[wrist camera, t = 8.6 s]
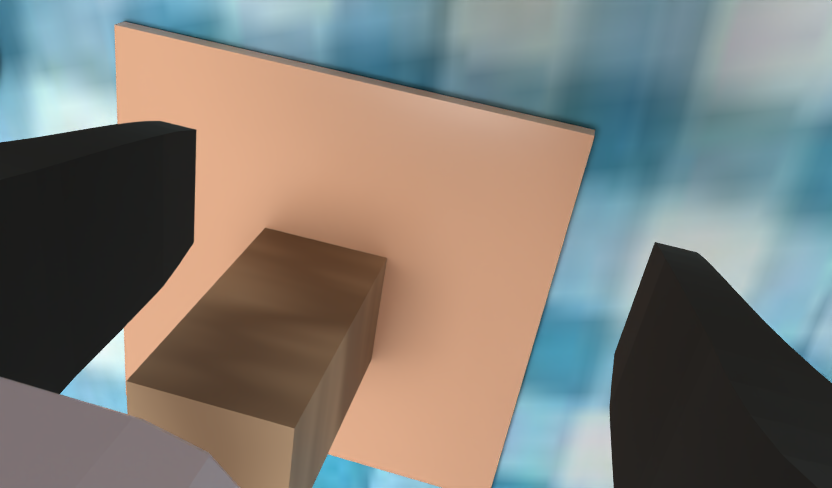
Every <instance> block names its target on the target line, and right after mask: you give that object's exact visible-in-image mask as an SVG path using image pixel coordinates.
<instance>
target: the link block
mask: <svg viewBox="0 0 832 488" xmlns="http://www.w3.org/2000/svg"><path fill="white" fill-rule="evenodd" d="M386 262H387V258H386V257H382V256H378V255H374V254H370V253H365V252H361V251H357V250H353V249H349V248H345V247H341V246H337V245H333V244H329V243H325V242H321V241H317V240H313V239H309V238H305V237H301V236H297V235H293V234H289V233H285V232H281V231H277V230H273V229H269V228H264V229H263V231H262V232H261V233H260V234H259V235H258V236H257V237H256V238H255V239H254V241H253V242H252V243H251V244H250V245H249V246H248V247H247V248H246V249H245V250H244V252H243V253H242V254H241V255H240V256H239V257H238V258H237V259H236V260H235V261H234V263H233V264H232V265H231V266H230V267H229V268H228V269H227V270H226V271H225V273H224V274H223V275H222V276H221V277H220V278H219V279H218V280H217V281H216V282H215V284H214V285H213V286H212V287H211V288H210V289H209V290H208V291H207V292H206V294H205V295H204V296H203V297H202V298H201V299H200V300H199V301H198V302H197V303H196V305H195V306H194V307H193V308H192V309H191V310H190V311H189V312H188V313H187V314H186V316H185V317H184V318H183V319H182V320H181V321H180V322H179V323H178V324H177V326H176V327H175V328H174V329H173V330H172V331H171V332H170V333H169V334H168V335H167V337H166V338H165V339H164V340H163V341H162V342H161V343H160V344H159V345H158V347H157V348H156V349H155V350H154V351H153V352H152V353H151V354H150V355H149V356H148V358H147V359H146V360H145V361H144V362H143V363H142V364H141V365H140V366H139V368H138V369H137V370H136V371H135V372H134V373H133V374H132V375H131V376H130V377H129V379H128V380H127V381H126V388H127V411H128V415H131V416H135V417H138V418H142V419H144V420H146V421H148V422H150V423H152V424H154V425H156V426H158V427H160V428H162V429H164V430H165V431H167V432H169V433H171V434H173V435H175V436H177V437H179V438H181V439H183V440H185V441H187V442H189V443H191V444H193V445H195V446H197V447H199V448H201V449H203V450H205V451H207V452H208V453H210V455H211V456H212V457H213V458H214V459H215V460H216V461H217V462H218V463H219V465H220V466H221V467H222V468H223V469H224V470H225V471H226V472H227V473H228V475H229V476H230V477H231V478H232V479H233V480H234V481H235V482H236V483H237V485H238V486H239V487H240V488H312V486H313V484H314V482H315V480H316V478H317V476H318V474H319V471H320V469H321V467H322V465H323V463H324V461H325V459H326V456H327V454H328V452H329V450H330V448H331V446H332V444H333V441H334V439H335V437H336V435H337V433H338V431H339V429H340V426H341V424H342V422H343V420H344V418H345V416H346V413H347V411H348V409H349V407H350V405H351V403H352V401H353V398H354V396H355V394H356V392H357V390H358V388H359V386H360V383H361V381H362V379H363V377H364V375H365V373H366V371H367V368H368V366H369V364H370V362H371V359H372V353H373V346H374V340H375V333H376V327H377V320H378V314H379V307H380V301H381V294H382V288H383V282H384V275H385V269H386Z"/></svg>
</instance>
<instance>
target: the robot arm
mask: <svg viewBox="0 0 832 488" xmlns="http://www.w3.org/2000/svg"><path fill="white" fill-rule="evenodd" d="M196 131H197V130H196V129H192V128H188V127H183V126H179V125H175V124H171V123H167V122H163V121H140V122H130V123H122V124H115V125H108V126H102V127H96V128H90V129H84V130H78V131H72V132H66V133H60V134H54V135H48V136H42V137H36V138H29V139H22V140H15V141H8V142H1V143H0V488H240V487H239V486H238V485H237V483H236V482H235V481H234V480H233V479H232V478H231V477H230V476H229V475H228V473H227V472H226V471H225V470H224V469H223V468H222V467H221V466H220V465H219V463H218V462H217V461H216V460H215V459H214V458H213V457H212V456H211V455H210V453H208V452H207V451H205V450H203V449H201V448H199V447H197V446H195V445H193V444H191V443H189V442H187V441H185V440H183V439H181V438H179V437H177V436H175V435H173V434H171V433H169V432H167V431H165V430H164V429H162V428H160V427H158V426H156V425H154V424H152V423H150V422H148V421H146V420H144V419H142V418H138V417H135V416H131V415H128V414H125V413H121V412H118V411H114V410H111V409H108V408H104V407H101V406H98V405H94V404H91V403H87V402H84V401H81V400H77V399H74V398H70V397H67V396H64V395H60V393H61V392H62V391H63V390H64V389H65V388H66V386H67V385H68V384H69V383H70V382H71V381H72V380H73V379H74V378H75V376H76V375H77V374H78V373H79V372H80V371H81V370H82V369H83V368H84V367H85V366H86V365H87V364H88V363H89V362H90V361H91V360H92V359H93V358H94V357H95V356H96V355H97V354H98V353H99V352H100V351H101V350H102V349H103V348H104V347H105V346H106V345H107V344H108V343H109V342H110V341H111V340H112V339H113V338H114V337H115V336H116V335H117V334H118V333H119V332H120V331H121V330H122V329H123V328H124V327H125V326H126V325H127V324H128V323H129V322H130V321H131V320H132V319H133V318H134V317H135V316H136V315H137V314H138V313H139V311H140V310H141V309H142V308H143V307H144V306H145V305H146V304H147V303H148V302H149V301H150V300H151V299H152V298H153V297H154V296H155V295H156V294H157V293H158V292H159V290H160V289H161V288H162V287H163V286H164V285H165V283H166V282H167V281H168V279H169V278H170V277H171V275H172V274H173V273H174V271H175V270H176V268H177V267H178V266H179V264H180V263H181V261H182V260H183V258H184V257H185V255H186V254H187V252H188V251H189V249H190V248H191V246H192V245H193V243H194V221H195V176H196ZM610 429H611V448H612V465H613V482H614V488H832V383H831V382H830V381H829V380H827V379H826V378H825V377H824V376H823V375H821V374H820V373H819V372H818V371H817V370H816V369H814V368H813V367H812V366H811V365H810V364H809V363H808V362H807V361H806V360H805V359H803V358H802V357H801V356H800V355H799V354H798V353H797V352H796V351H795V350H794V349H792V348H791V347H790V346H789V345H788V344H787V343H786V342H785V341H784V340H783V339H782V338H781V337H780V336H779V335H778V334H777V333H776V332H775V331H774V330H773V329H772V328H771V327H770V326H769V325H768V324H767V323H766V322H765V321H764V320H763V319H762V318H761V317H760V316H759V315H758V314H757V313H756V312H755V311H754V310H753V309H752V308H751V307H750V306H749V305H748V304H747V303H746V302H745V300H744V299H743V298H742V297H741V296H740V295H739V294H738V293H737V292H736V291H735V290H734V289H733V288H732V287H731V285H730V284H729V283H728V282H727V281H726V280H725V279H724V278H723V277H722V276H721V275H720V274H719V273H718V272H717V271H716V270H715V268H714V267H713V266H712V265H711V264H710V263H709V262H708V261H707V260H705V259H704V258H703V257H702V256H701V255H700V254H698V253H697V252H693V251H689V250H685V249H681V248H677V247H672V246H668V245H664V244H660V243H656V242H655V243H654V246H653V249H652V252H651V254H650V257H649V260H648V263H647V265H646V268H645V271H644V274H643V277H642V279H641V282H640V285H639V288H638V290H637V293H636V296H635V299H634V301H633V304H632V307H631V310H630V312H629V315H628V318H627V321H626V324H625V326H624V329H623V332H622V335H621V337H620V340H619V343H618V346H617V348H616V351H615V355H614V365H613V374H612V384H611V397H610Z"/></svg>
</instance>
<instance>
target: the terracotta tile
mask: <svg viewBox="0 0 832 488" xmlns="http://www.w3.org/2000/svg"><path fill="white" fill-rule="evenodd" d="M115 56H116V88H117V120H118V124H122V123H130V122H140V121H163V122H167V123H171V124H175V125H179V126H183V127H188V128H192V129H196V130H197V131H196V176H195V221H194V243H193V245H192V246H191V248H190V249H189V251H188V252H187V254H186V255H185V257H184V258H183V260H182V261H181V263H180V264H179V266H178V267H177V268H176V270H175V271H174V273H173V274H172V275H171V277H170V278H169V279H168V281H167V282H166V283H165V285H164V286H163V287H162V288H161V289H160V290H159V292H158V293H157V294H156V295H155V296H154V297H153V298H152V299H151V300H150V301H149V302H148V303H147V304H146V305H145V306H144V307H143V308H142V309H141V310H140V311H139V313H138V314H137V315H136V316H135V317H134V318H133V319H132V320H131V321H130V322H129V323H128V324H127V325H126V326H125V327H124V343H125V375H126V381H127V380H128V379H129V377H130V376H131V375H132V374H133V373H134V372H135V371H136V370H137V369H138V368H139V366H140V365H141V364H142V363H143V362H144V361H145V360H146V359H147V358H148V356H149V355H150V354H151V353H152V352H153V351H154V350H155V349H156V348H157V347H158V345H159V344H160V343H161V342H162V341H163V340H164V339H165V338H166V337H167V335H168V334H169V333H170V332H171V331H172V330H173V329H174V328H175V327H176V326H177V324H178V323H179V322H180V321H181V320H182V319H183V318H184V317H185V316H186V314H187V313H188V312H189V311H190V310H191V309H192V308H193V307H194V306H195V305H196V303H197V302H198V301H199V300H200V299H201V298H202V297H203V296H204V295H205V294H206V292H207V291H208V290H209V289H210V288H211V287H212V286H213V285H214V284H215V282H216V281H217V280H218V279H219V278H220V277H221V276H222V275H223V274H224V273H225V271H226V270H227V269H228V268H229V267H230V266H231V265H232V264H233V263H234V261H235V260H236V259H237V258H238V257H239V256H240V255H241V254H242V253H243V252H244V250H245V249H246V248H247V247H248V246H249V245H250V244H251V243H252V242H253V241H254V239H255V238H256V237H257V236H258V235H259V234H260V233H261V232H262V231H263V229H264V228H269V229H273V230H277V231H281V232H285V233H289V234H293V235H297V236H301V237H305V238H309V239H313V240H317V241H321V242H325V243H329V244H333V245H337V246H341V247H345V248H349V249H353V250H357V251H361V252H365V253H370V254H374V255H378V256H382V257H386V258H387V262H386V269H385V275H384V282H383V288H382V294H381V301H380V307H379V314H378V320H377V327H376V333H375V340H374V346H373V353H372V359H371V362H370V364H369V366H368V368H367V371H366V373H365V375H364V377H363V379H362V381H361V383H360V386H359V388H358V390H357V392H356V394H355V396H354V398H353V401H352V403H351V405H350V407H349V409H348V411H347V413H346V416H345V418H344V420H343V422H342V424H341V426H340V429H339V431H338V433H337V435H336V437H335V439H334V441H333V444H332V446H331V448H330V450H329V452H328V454H329V455H333V456H336V457H340V458H343V459H346V460H350V461H353V462H357V463H360V464H363V465H367V466H370V467H374V468H377V469H381V470H384V471H387V472H391V473H394V474H398V475H401V476H405V477H408V478H411V479H415V480H418V481H422V482H425V483H428V484H432V485H435V486H439V487H442V488H491V486H492V483H493V479H494V476H495V473H496V469H497V466H498V462H499V459H500V456H501V452H502V449H503V445H504V442H505V439H506V435H507V432H508V428H509V425H510V422H511V418H512V415H513V411H514V408H515V405H516V401H517V398H518V394H519V391H520V388H521V384H522V381H523V378H524V374H525V371H526V367H527V364H528V361H529V357H530V354H531V350H532V347H533V344H534V340H535V337H536V333H537V330H538V327H539V323H540V320H541V316H542V313H543V310H544V306H545V303H546V299H547V296H548V293H549V289H550V286H551V282H552V279H553V276H554V272H555V269H556V265H557V262H558V259H559V255H560V252H561V248H562V245H563V242H564V238H565V235H566V231H567V228H568V225H569V221H570V218H571V214H572V211H573V208H574V204H575V201H576V197H577V194H578V191H579V187H580V184H581V180H582V177H583V174H584V170H585V167H586V164H587V160H588V157H589V153H590V150H591V147H592V143H593V140H594V136H595V130H593V129H589V128H585V127H580V126H576V125H572V124H567V123H563V122H559V121H554V120H550V119H546V118H541V117H537V116H533V115H528V114H524V113H520V112H515V111H511V110H507V109H502V108H498V107H494V106H489V105H485V104H481V103H476V102H472V101H468V100H463V99H459V98H455V97H450V96H446V95H442V94H437V93H433V92H428V91H424V90H420V89H415V88H411V87H407V86H402V85H398V84H394V83H389V82H385V81H381V80H376V79H372V78H368V77H363V76H359V75H355V74H350V73H346V72H342V71H337V70H333V69H329V68H324V67H320V66H316V65H311V64H307V63H303V62H298V61H294V60H290V59H285V58H281V57H277V56H272V55H268V54H263V53H259V52H255V51H250V50H246V49H242V48H237V47H233V46H229V45H224V44H220V43H216V42H211V41H207V40H203V39H198V38H194V37H190V36H185V35H181V34H177V33H172V32H168V31H164V30H159V29H155V28H151V27H146V26H142V25H138V24H133V23H129V22H125V21H124V22H121V23H118V24H115ZM126 395H127V388H126Z"/></svg>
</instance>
